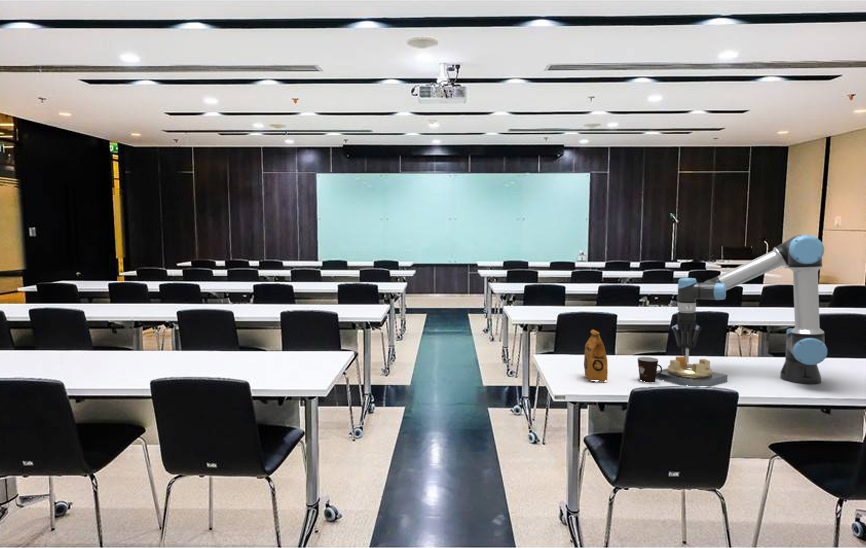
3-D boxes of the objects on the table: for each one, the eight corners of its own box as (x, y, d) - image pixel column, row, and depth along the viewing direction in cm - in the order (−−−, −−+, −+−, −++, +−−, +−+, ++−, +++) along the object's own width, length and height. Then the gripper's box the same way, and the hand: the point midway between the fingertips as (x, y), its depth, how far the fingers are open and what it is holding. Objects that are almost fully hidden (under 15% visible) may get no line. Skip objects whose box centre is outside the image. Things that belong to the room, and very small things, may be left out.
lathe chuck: (716, 371, 243) (716, 359, 242) (706, 380, 229) (707, 367, 229) (674, 365, 254) (674, 354, 254) (662, 373, 240) (662, 361, 240)
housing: (727, 381, 238) (727, 374, 238) (698, 389, 227) (698, 382, 227) (681, 371, 257) (681, 364, 257) (652, 378, 245) (652, 371, 245)
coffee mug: (634, 378, 245) (634, 356, 244) (653, 378, 245) (653, 356, 244) (643, 385, 233) (644, 362, 233) (663, 385, 233) (664, 362, 233)
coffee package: (586, 382, 239) (586, 333, 237) (582, 375, 251) (583, 329, 250) (609, 383, 237) (610, 334, 236) (604, 376, 250) (605, 329, 248)
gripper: (674, 312, 244) (674, 364, 245) (704, 312, 242) (703, 364, 244) (669, 310, 251) (669, 360, 253) (698, 310, 249) (697, 360, 251)
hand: (686, 362), depth 248 cm, fingers closed
